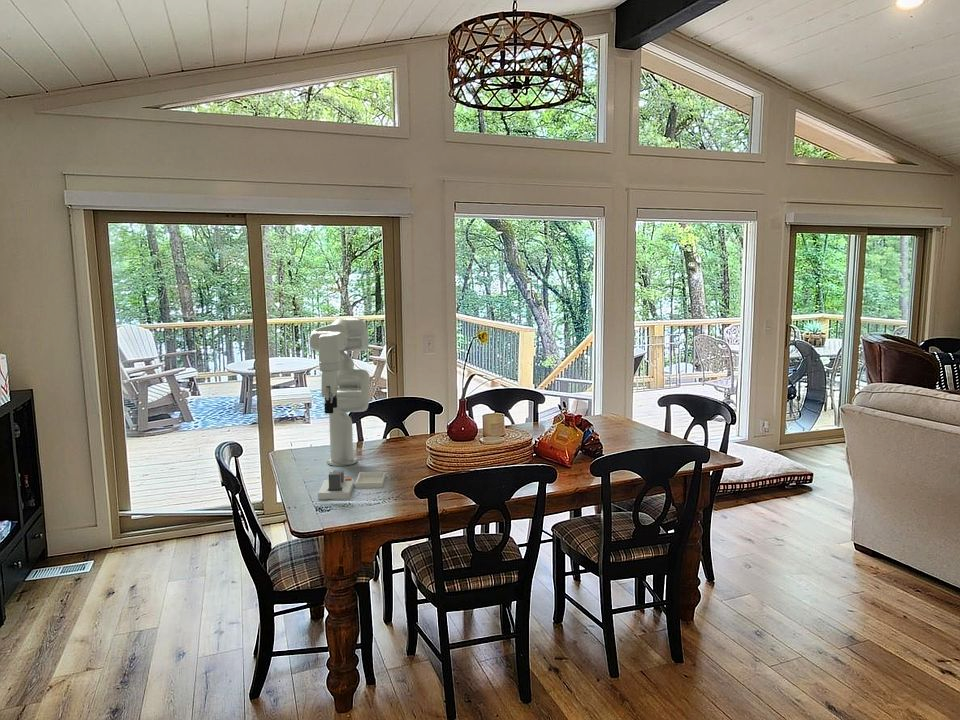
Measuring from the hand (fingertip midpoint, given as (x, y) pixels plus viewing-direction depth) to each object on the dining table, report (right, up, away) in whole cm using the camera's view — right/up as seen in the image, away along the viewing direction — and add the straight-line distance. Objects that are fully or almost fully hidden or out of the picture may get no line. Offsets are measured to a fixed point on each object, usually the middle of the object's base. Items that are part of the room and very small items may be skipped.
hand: (331, 410), depth 256 cm
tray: (+15, -29, +1) cm, 32 cm away
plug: (+5, -31, -13) cm, 34 cm away
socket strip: (+4, -30, -10) cm, 32 cm away
